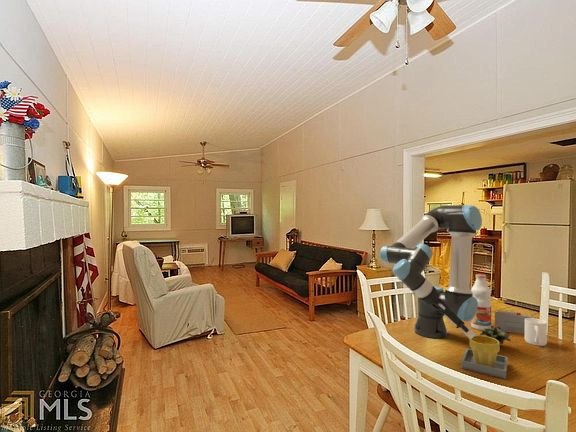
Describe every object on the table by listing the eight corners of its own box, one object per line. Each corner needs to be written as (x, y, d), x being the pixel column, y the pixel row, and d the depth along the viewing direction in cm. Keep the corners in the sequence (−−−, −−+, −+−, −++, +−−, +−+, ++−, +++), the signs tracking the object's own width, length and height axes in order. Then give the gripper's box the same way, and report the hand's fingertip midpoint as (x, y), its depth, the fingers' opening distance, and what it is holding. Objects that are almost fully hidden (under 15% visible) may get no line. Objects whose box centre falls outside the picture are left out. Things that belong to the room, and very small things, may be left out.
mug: (549, 350, 144) (549, 327, 144) (526, 346, 149) (526, 324, 148) (545, 341, 154) (545, 319, 154) (523, 338, 159) (523, 316, 159)
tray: (461, 368, 128) (461, 360, 128) (466, 355, 140) (466, 348, 140) (505, 379, 120) (505, 371, 120) (507, 364, 132) (507, 356, 131)
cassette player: (531, 333, 165) (531, 313, 165) (532, 335, 163) (532, 315, 162) (494, 328, 172) (494, 309, 172) (495, 330, 170) (495, 311, 169)
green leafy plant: (495, 356, 151) (512, 336, 150) (499, 361, 142) (517, 340, 140) (472, 338, 156) (488, 319, 155) (475, 342, 146) (492, 321, 145)
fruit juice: (481, 324, 178) (482, 272, 178) (495, 330, 169) (495, 276, 169) (466, 325, 177) (466, 273, 176) (479, 331, 168) (479, 277, 167)
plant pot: (464, 358, 135) (464, 334, 135) (489, 358, 135) (489, 334, 135) (478, 370, 125) (478, 344, 125) (505, 370, 125) (505, 344, 125)
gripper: (410, 290, 144) (445, 325, 143) (429, 307, 119) (472, 349, 118) (422, 279, 143) (458, 313, 142) (444, 293, 118) (488, 335, 117)
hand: (464, 330), depth 130 cm, fingers open, 13 cm apart
